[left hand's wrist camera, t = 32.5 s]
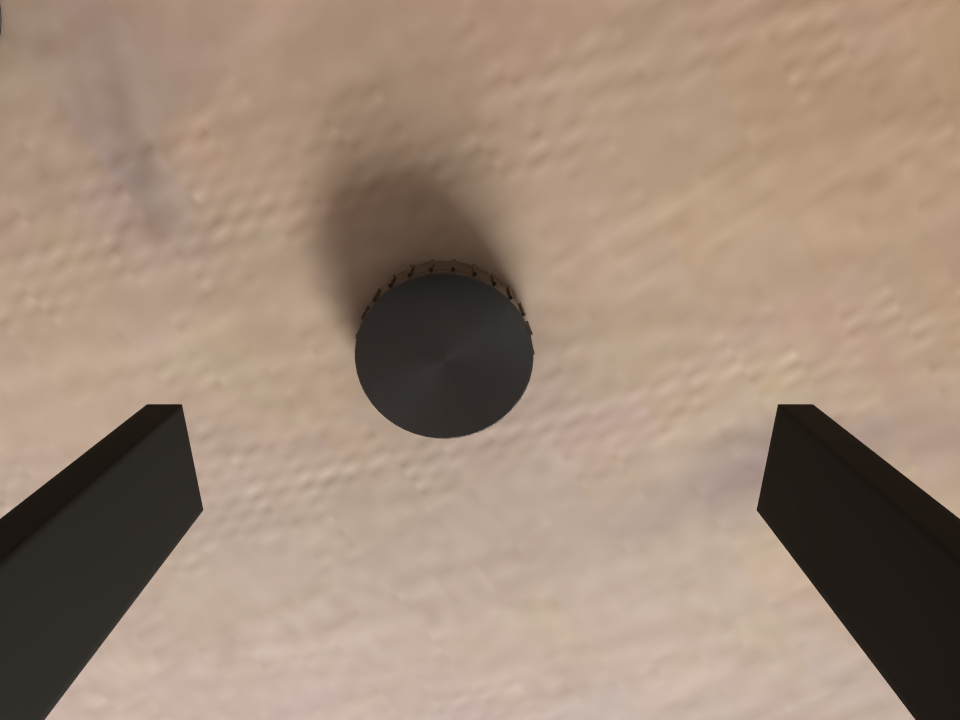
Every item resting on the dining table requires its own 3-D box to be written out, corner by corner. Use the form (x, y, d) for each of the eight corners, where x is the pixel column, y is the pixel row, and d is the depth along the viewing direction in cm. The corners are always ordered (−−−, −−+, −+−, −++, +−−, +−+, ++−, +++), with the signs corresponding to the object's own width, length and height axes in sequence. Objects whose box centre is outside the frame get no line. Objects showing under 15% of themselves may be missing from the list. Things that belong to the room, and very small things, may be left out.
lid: (353, 260, 18) (343, 272, 17) (531, 257, 18) (538, 268, 17) (368, 419, 20) (360, 443, 19) (527, 415, 20) (534, 438, 19)
